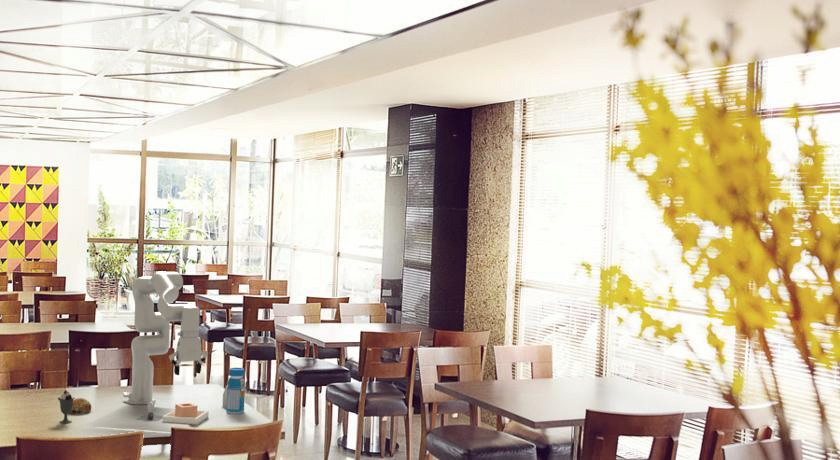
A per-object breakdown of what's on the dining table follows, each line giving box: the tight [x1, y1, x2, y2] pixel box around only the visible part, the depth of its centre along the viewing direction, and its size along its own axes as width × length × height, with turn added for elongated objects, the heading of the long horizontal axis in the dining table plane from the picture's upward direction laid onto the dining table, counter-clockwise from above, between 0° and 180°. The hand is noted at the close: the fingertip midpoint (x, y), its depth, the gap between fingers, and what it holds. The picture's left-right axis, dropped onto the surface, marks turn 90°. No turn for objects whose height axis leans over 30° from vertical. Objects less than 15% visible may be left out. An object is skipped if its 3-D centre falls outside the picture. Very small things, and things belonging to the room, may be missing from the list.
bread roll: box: [68, 397, 92, 415], centre depth 363 cm, size 10×10×8 cm
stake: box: [134, 402, 163, 422], centre depth 354 cm, size 10×10×7 cm
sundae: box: [57, 385, 76, 425], centre depth 343 cm, size 7×7×15 cm
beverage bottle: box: [225, 367, 246, 415], centre depth 376 cm, size 8×8×20 cm
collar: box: [174, 402, 198, 418], centre depth 355 cm, size 7×7×6 cm
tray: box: [161, 409, 209, 427], centre depth 355 cm, size 15×15×3 cm
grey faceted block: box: [221, 385, 228, 409], centre depth 385 cm, size 4×7×10 cm, turn 62°
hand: (187, 373), depth 356 cm, fingers open, 9 cm apart
